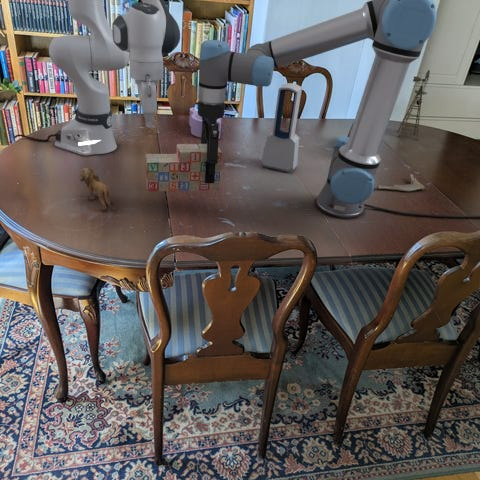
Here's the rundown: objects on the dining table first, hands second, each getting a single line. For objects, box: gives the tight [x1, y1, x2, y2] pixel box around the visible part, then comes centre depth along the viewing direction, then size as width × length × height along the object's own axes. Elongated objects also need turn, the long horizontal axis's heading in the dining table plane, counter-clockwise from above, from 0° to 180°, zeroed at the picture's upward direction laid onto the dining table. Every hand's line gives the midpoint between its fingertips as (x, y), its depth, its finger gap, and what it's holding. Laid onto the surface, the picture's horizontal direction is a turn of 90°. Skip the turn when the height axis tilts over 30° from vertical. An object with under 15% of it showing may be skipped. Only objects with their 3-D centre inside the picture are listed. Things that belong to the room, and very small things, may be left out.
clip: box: [188, 107, 222, 139], centre depth 199 cm, size 20×12×7 cm, turn 23°
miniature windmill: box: [397, 69, 431, 140], centre depth 212 cm, size 9×8×30 cm
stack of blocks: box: [145, 143, 223, 192], centre depth 137 cm, size 21×6×12 cm, turn 104°
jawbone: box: [376, 173, 426, 193], centre depth 169 cm, size 9×20×2 cm, turn 126°
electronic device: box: [260, 82, 303, 173], centre depth 167 cm, size 12×8×30 cm, turn 71°
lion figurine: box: [77, 167, 116, 211], centre depth 139 cm, size 15×5×9 cm, turn 50°
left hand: (147, 121), depth 133 cm, fingers open, 8 cm apart
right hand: (207, 177), depth 141 cm, fingers closed on stack of blocks, 6 cm apart
